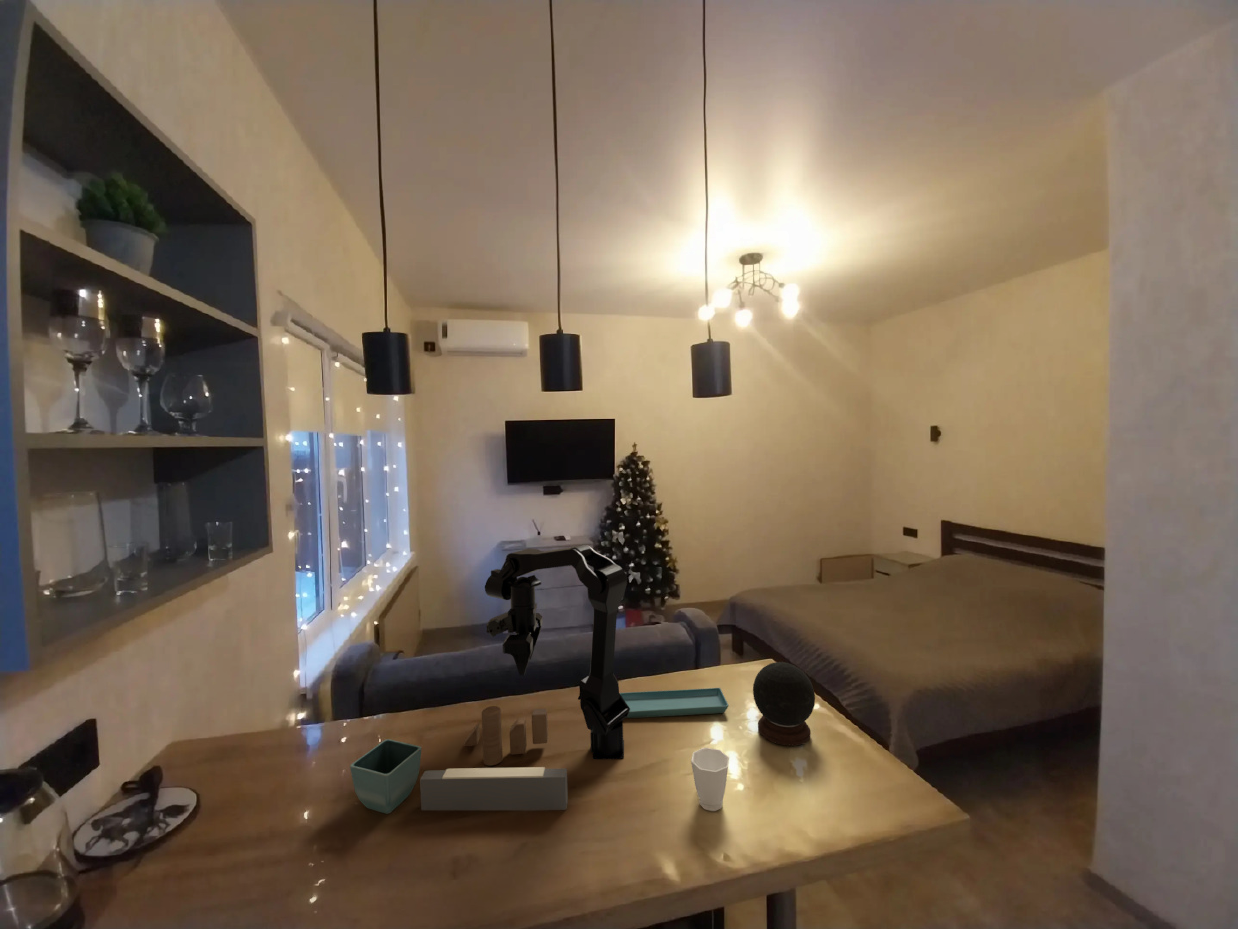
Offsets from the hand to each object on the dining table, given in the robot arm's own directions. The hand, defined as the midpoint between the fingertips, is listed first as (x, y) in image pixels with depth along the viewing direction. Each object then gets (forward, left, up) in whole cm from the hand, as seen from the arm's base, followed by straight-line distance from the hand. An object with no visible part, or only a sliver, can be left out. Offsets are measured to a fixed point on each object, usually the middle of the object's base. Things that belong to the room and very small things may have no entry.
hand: (525, 667), depth 120 cm
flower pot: (+20, +29, -12) cm, 37 cm away
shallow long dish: (-35, -3, -13) cm, 38 cm away
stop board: (0, +30, -12) cm, 32 cm away
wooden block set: (+2, +15, -12) cm, 19 cm away
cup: (-39, +28, -12) cm, 50 cm away
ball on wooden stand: (-59, +8, -12) cm, 61 cm away
